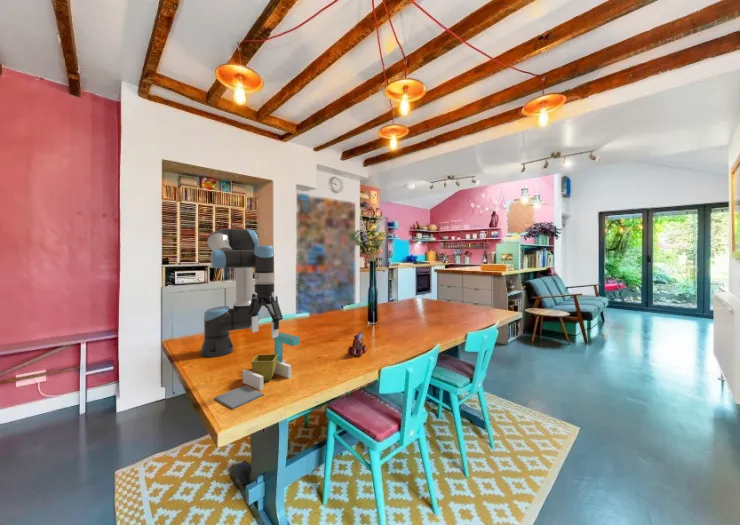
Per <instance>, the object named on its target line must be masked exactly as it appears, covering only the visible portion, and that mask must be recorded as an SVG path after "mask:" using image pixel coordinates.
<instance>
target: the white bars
mask: <svg viewBox="0 0 740 525" xmlns="http://www.w3.org/2000/svg"><path fill="white" fill-rule="evenodd" d="M274 374H276V375H278V376H281V377H284V378H286V379H290V378H292V365H291V364H289V363H287V361H286V360H285V359H283V362H280V361H277V366H276V370H275V372H274ZM241 376H242V383H243V384H244V385H246V386H248V387H250V388H253V389H255V390H256V389H257V391H262V390H264V387H265V386H264V382H265V381H264V380H263V376H262V375H259V374H257V373H254V372H253V371H252V370H249V369H246V368H245V369H243V370H242V374H241Z"/></svg>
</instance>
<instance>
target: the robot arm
mask: <svg viewBox="0 0 740 525" xmlns="http://www.w3.org/2000/svg"><path fill="white" fill-rule="evenodd" d="M206 241H207V242H206V243H207V246H208V248H209V249H210V250H211V253H210V263H211V264H210V265H211V267H212V268H213V269H220V270H222V269H235V302H234V303H233V305H232V308H230V307H229V305H221V306H216V307H211V308H208V309H206V311H204V314H203V315H204V316H203V325H204V326H203V328H204V329H203V330H204V331H203V332H204V335H203V337H204V339H203V342H202V345H201V347H200V356H201V357H205V358H216V357H223V356H225V355H229V354H231V353H232V352H234V344H233V342H232V339H231V337H230V331H232V332H233V331H239V330H249V329H251V333H257V332H259V323H260V322H259V321H260V317H261V311H260V310H261V308H262V307H265V308H266V309H267V311H268V313H269V315H270V318H271V339H274V338H275V337H278V333H279V329H280V321H282V320H283V318H284V317H283V313H282V311H281V308H280V304H279V301H278V300H279V299H278V297H279V296H277V295H273V293H274V292H275V284H274V282H275V271H274V270H275V267H274V266H275V263H274V262H275V253H274V246H273V245H259V244H260V243H259V238H258V235H257V232H256V231H255V230H254V229H248V228H247V229H245V228H242V229H241V228H220V229H217V230H215V231H213V232H211V233H210V234H209V236H208V237H207V240H206ZM253 268H254V271H253ZM254 282H255V284H254Z"/></svg>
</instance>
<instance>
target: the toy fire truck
mask: <svg viewBox="0 0 740 525" xmlns="http://www.w3.org/2000/svg"><path fill="white" fill-rule="evenodd" d="M363 337H364V332H363V331H359V332H358V333H357V334H355V335H354V339H353V341H352V345H351V346H349V347H348V349H347V353H348V355H350V356H351V355H353V356H355V355H357V356H359V357H362V356H363V354H366V352H367V345H366V344H363V343H364V342H363V340H364V338H363Z"/></svg>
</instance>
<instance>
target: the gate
mask: <svg viewBox="0 0 740 525" xmlns="http://www.w3.org/2000/svg"><path fill="white" fill-rule="evenodd" d="M273 341H274V354H278V358H277V361H280V362H283V360H284V358H283V357H284V356H283V352H284V349H283V344H284V345H289V346H292V347H295V346H297V345H300V344H301V337H300V336H296V335H294V334H293V335H292V334H288V333H286V332H281V331H280V332H278V337H275V338H273Z"/></svg>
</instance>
